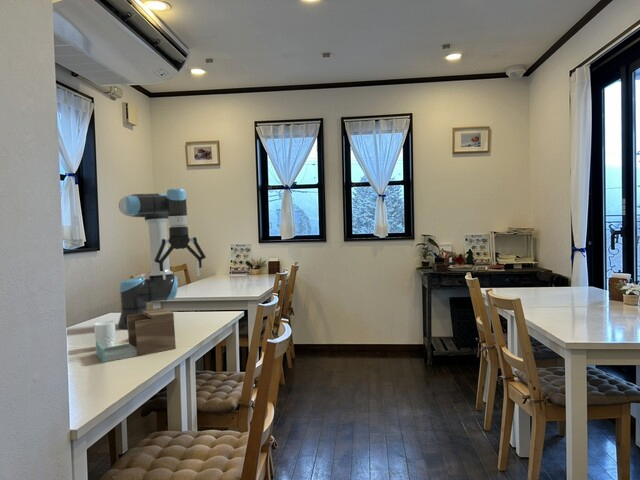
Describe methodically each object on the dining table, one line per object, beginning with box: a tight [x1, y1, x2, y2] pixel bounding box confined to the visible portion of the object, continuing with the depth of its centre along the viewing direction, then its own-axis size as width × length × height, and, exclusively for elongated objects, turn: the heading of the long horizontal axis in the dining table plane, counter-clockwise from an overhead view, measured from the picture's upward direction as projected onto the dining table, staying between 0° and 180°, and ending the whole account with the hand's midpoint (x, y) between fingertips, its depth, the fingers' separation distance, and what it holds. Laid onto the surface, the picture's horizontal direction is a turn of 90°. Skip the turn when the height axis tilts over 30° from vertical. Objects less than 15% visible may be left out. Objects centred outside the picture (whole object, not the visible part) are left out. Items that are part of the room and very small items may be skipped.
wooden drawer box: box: [127, 307, 177, 357], centre depth 179 cm, size 15×14×14 cm
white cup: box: [93, 320, 116, 348], centre depth 185 cm, size 8×8×10 cm
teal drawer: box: [95, 341, 138, 364], centre depth 173 cm, size 14×13×5 cm
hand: (181, 277), depth 189 cm, fingers open, 13 cm apart
